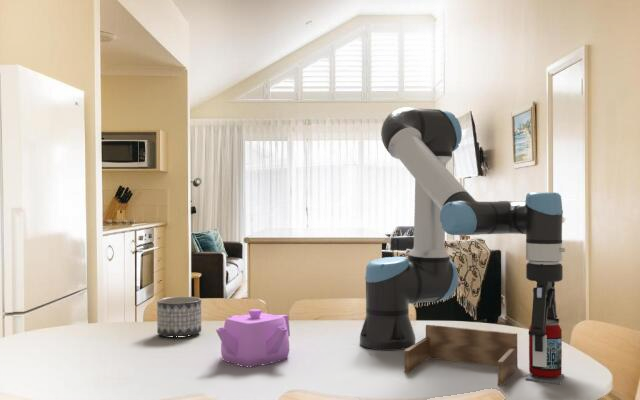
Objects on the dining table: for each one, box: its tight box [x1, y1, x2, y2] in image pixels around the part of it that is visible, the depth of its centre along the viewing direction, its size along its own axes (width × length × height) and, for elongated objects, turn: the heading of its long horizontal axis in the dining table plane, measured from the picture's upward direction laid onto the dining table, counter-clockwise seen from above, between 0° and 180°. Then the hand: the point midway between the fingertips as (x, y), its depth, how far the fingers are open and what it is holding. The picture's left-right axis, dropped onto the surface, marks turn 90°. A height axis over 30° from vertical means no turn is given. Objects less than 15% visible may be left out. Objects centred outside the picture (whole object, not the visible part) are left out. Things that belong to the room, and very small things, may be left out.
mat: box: [525, 372, 565, 385], centre depth 135 cm, size 7×7×1 cm
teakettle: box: [215, 308, 291, 368], centre depth 153 cm, size 17×17×12 cm
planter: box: [156, 296, 202, 337], centre depth 181 cm, size 13×13×10 cm
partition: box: [403, 324, 518, 386], centre depth 142 cm, size 22×16×8 cm
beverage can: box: [528, 319, 563, 379], centre depth 135 cm, size 7×7×12 cm
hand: (544, 359), depth 135 cm, fingers open, 13 cm apart
